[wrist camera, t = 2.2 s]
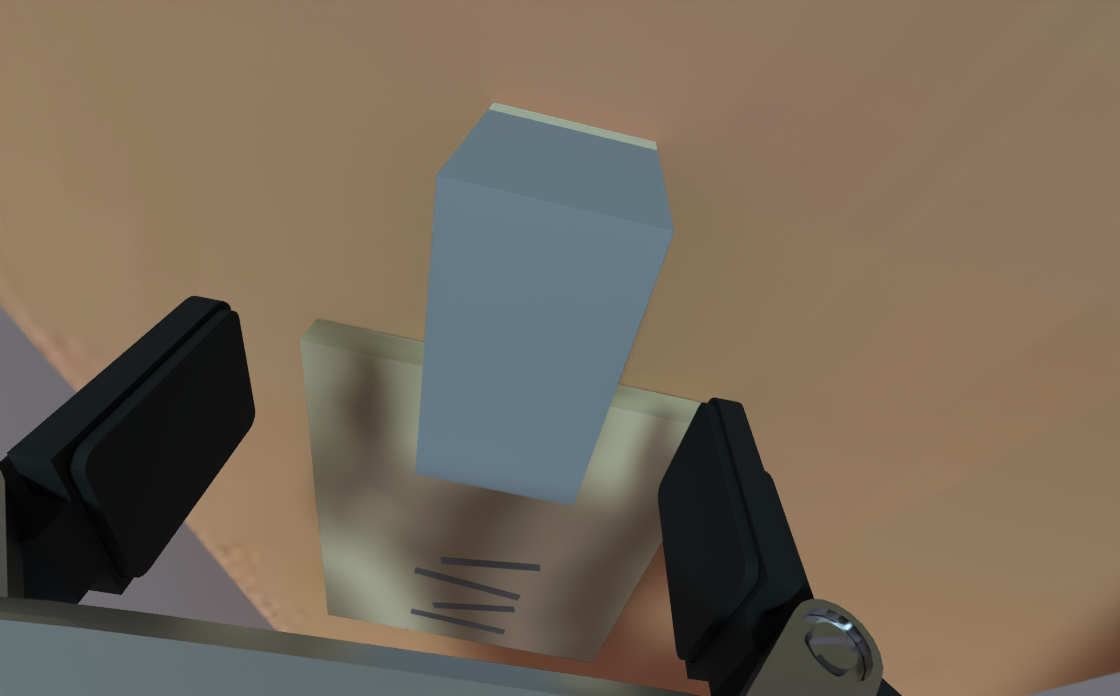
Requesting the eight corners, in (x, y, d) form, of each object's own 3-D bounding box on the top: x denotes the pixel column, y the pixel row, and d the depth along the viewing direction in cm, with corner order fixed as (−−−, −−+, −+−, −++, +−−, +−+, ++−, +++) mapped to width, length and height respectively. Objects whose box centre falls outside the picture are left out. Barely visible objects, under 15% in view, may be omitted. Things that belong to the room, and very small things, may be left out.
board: (719, 406, 19) (724, 431, 18) (593, 640, 29) (592, 663, 29) (316, 318, 18) (299, 340, 17) (337, 592, 29) (328, 614, 28)
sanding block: (655, 140, 14) (674, 231, 9) (582, 373, 19) (573, 505, 14) (494, 101, 14) (436, 175, 9) (463, 347, 18) (415, 473, 14)
